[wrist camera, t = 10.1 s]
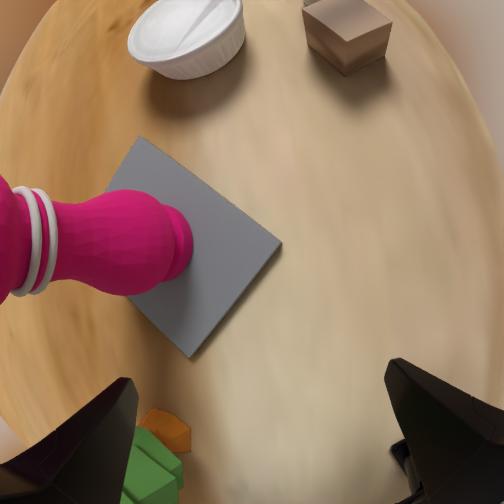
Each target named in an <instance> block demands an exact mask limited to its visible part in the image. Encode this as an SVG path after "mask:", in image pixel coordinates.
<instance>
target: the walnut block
mask: <svg viewBox="0 0 504 504" xmlns="http://www.w3.org/2000/svg"><path fill="white" fill-rule="evenodd" d="M302 14H303V19H304V25H305V31H306V38H307V44H308V45H309V46H310V47H312V48H313V49H314V50H315V51H316V52H318V53H319V54H320V55H321V56H322V57H323V58H324V59H326V60H327V61H328V62H329V63H330V64H331V65H332V66H333V67H335V68H336V69H337V70H338V71H339V72H340V73H341V74H342V75H343V76H344V77H346V76H348V75H350V74H351V73H353V72H355V71H357V70H359V69H360V68H362V67H364V66H366V65H368V64H370V63H372V62H374V61H376V60H378V59H380V58H382V57H384V56H385V53H386V49H387V45H388V40H389V36H390V32H391V27H392V23H393V21H391V20H390V19H389V18H387V17H386V16H385V15H383V14H382V13H381V12H379V11H378V10H376V9H375V8H374V7H372V6H371V5H369V4H368V3H366V2H365V1H363V0H321V1H318V2H316V3H313V4H311V5H309V6H306V7H304V8H302Z"/></svg>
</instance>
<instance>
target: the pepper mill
mask: <svg viewBox="0 0 504 504" xmlns="http://www.w3.org/2000/svg"><path fill="white" fill-rule="evenodd" d="M192 249H193V237H192V232H191V228H190V225H189V223H188V221H187V220H186V218H185V217H184V215H183V214H182V213H181V212H180V211H178V210H177V209H175V208H174V207H171V206H168V205H165V204H161V203H160V202H159V201H158V200H157V199H156V198H154V197H153V196H151V195H149V194H147V193H145V192H142V191H137V190H130V189H122V190H116V191H111V192H107V193H104V194H102V195H100V196H97V197H95V198H93V199H91V200H89V201H86V202H84V203H78V204H67V203H59V202H55V201H51V200H50V198H49V197H48V195H47V194H46V193H45V192H44V191H43V190H40V189H37V188H34V189H28V188H27V187H25V186H18V187H16V188H14V189H13V190H11V189H10V187H9V185H8V183H7V182H6V181H5V180H4V179H3V177H2V176H1V175H0V305H1V304H2V302H3V301H4V300H5V299H6V297H7V296H8V294H9V293H11V294H13V295H14V296H17V297H22V296H25V295H26V294H28V293H29V294H33V295H35V294H39V293H41V292H42V291H43V290H45V288H46V287H47V285H48V284H49V282H52V281H56V280H65V279H72V280H77V281H80V282H83V283H85V284H88V285H90V286H92V287H94V288H96V289H98V290H100V291H102V292H106V293H109V294H113V295H120V296H131V295H138V294H143V293H145V292H147V291H149V290H151V289H152V288H154V287H155V286H157V285H158V283H161V282H165V281H169V280H172V279H174V278H176V277H177V276H178V275H179V274H181V273H182V271H183V270H184V269H185V268H186V266H187V264H188V262H189V260H190V257H191V254H192Z"/></svg>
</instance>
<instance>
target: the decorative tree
mask: <svg viewBox="0 0 504 504" xmlns="http://www.w3.org/2000/svg"><path fill="white" fill-rule="evenodd" d="M188 451H191V428H190V427H188V426H187V425H186V424H184V423H183V422H182V421H181V420H179V419H178V418H177V417H176V416H175V415H173V414H171V413H168V412H165V411H162V410H159V409H156V408H153V409H152V410H151V411H150V412H149V413H148V414H146V415H145V416H144V417H143V418H142V419H141V420H140V423H139V426H135V433H134V438H133V443H132V447H131V452H130V456H129V461H128V465H127V470H126V475H125V480H124V485H123V490H122V496H121V501H120V504H175V503H178V502H179V497H178V490H180V489H181V488H183V465H182V462H181V461H180V460H179V459H178V458H177V457H176V456H175V455H174V454H173V453H177V452H188Z"/></svg>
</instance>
